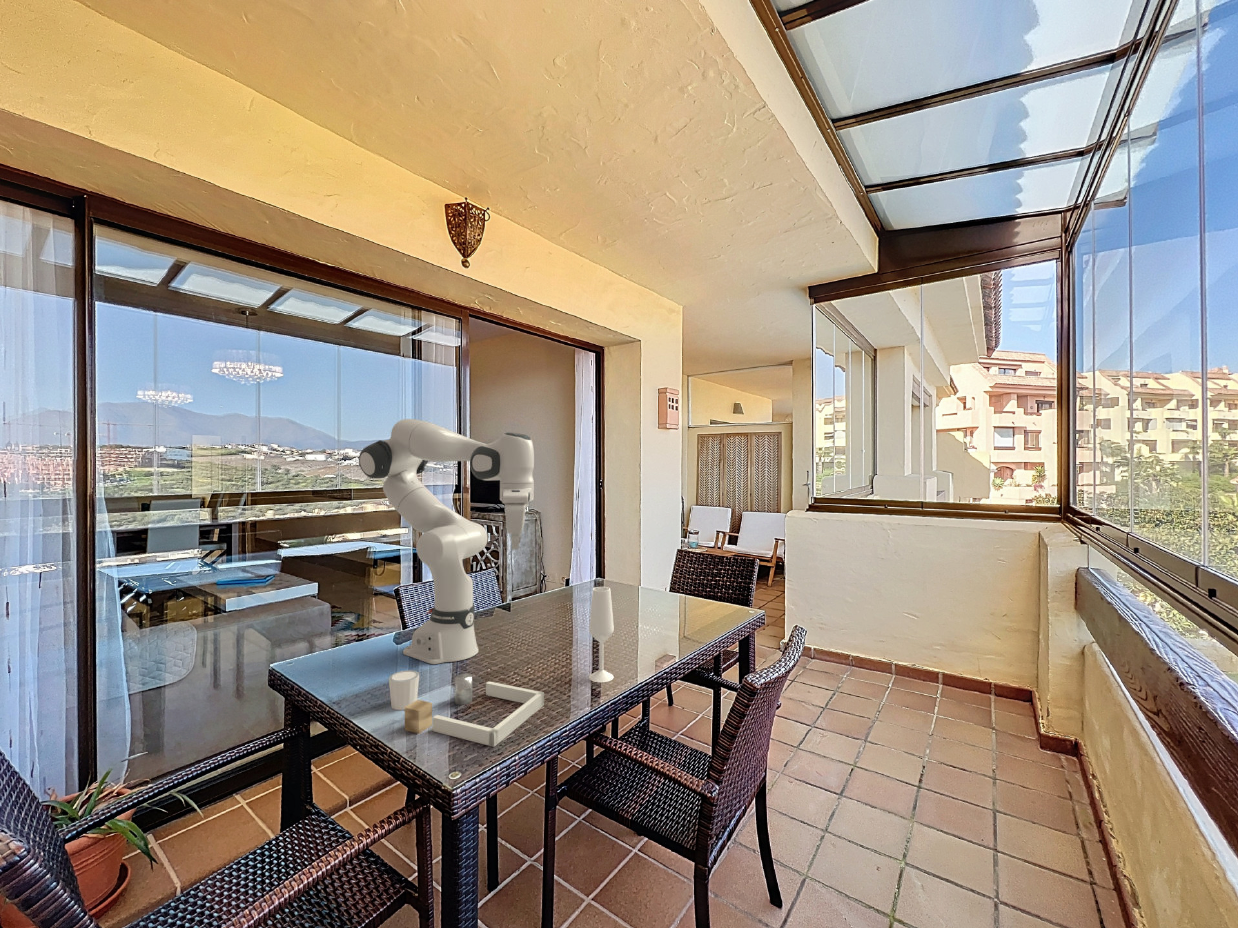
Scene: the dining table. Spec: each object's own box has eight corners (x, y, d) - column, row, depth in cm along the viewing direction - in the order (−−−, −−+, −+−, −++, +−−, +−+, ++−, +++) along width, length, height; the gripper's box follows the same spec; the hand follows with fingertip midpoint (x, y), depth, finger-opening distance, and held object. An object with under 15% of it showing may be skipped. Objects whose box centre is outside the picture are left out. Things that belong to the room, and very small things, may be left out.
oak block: (404, 730, 116) (404, 707, 116) (418, 721, 120) (418, 699, 120) (418, 733, 114) (418, 710, 114) (432, 725, 118) (432, 703, 118)
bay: (432, 731, 115) (432, 717, 115) (488, 693, 134) (488, 681, 134) (494, 746, 109) (494, 732, 109) (544, 704, 128) (544, 692, 128)
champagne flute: (597, 684, 139) (598, 593, 139) (584, 675, 145) (584, 588, 144) (618, 678, 143) (619, 589, 143) (604, 670, 149) (604, 584, 148)
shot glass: (384, 704, 128) (384, 675, 128) (412, 695, 133) (412, 667, 132) (395, 714, 123) (395, 684, 123) (424, 704, 128) (424, 675, 128)
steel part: (451, 703, 128) (451, 678, 128) (462, 696, 132) (462, 672, 132) (465, 706, 127) (465, 681, 127) (475, 699, 131) (475, 675, 130)
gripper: (507, 491, 151) (507, 539, 151) (501, 496, 130) (501, 553, 131) (530, 491, 152) (529, 539, 152) (527, 497, 131) (527, 552, 132)
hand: (516, 546), depth 141 cm, fingers open, 8 cm apart
